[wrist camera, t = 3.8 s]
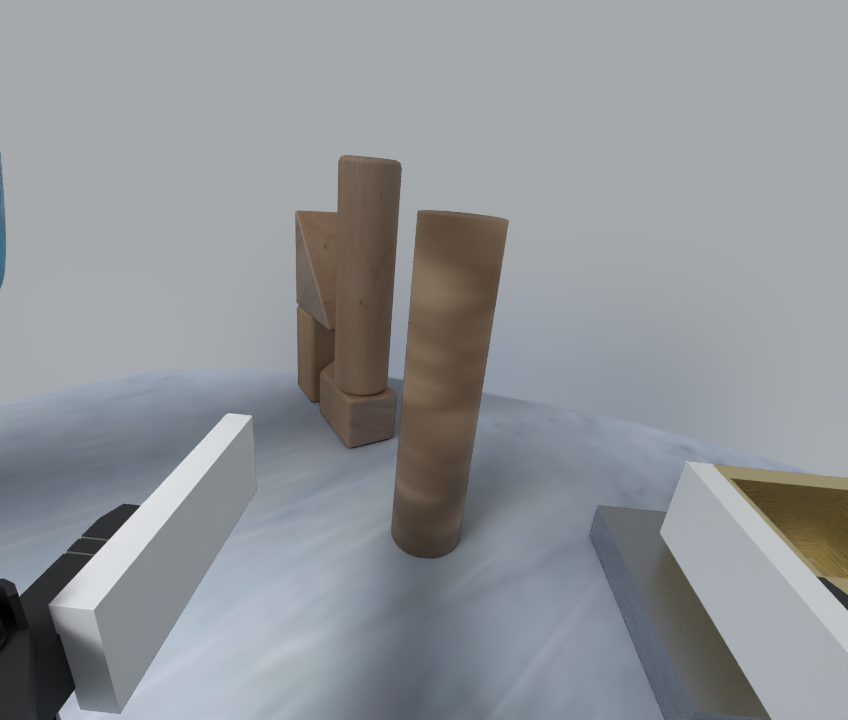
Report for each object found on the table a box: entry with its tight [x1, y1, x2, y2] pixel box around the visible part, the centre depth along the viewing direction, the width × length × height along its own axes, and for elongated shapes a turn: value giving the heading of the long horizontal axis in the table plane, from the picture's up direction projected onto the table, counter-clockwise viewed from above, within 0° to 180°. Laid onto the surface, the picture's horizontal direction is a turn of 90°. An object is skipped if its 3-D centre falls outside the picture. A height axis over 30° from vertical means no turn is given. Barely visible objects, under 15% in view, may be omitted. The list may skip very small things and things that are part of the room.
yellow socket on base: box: [589, 465, 848, 720], centre depth 19 cm, size 14×10×6 cm
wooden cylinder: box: [391, 210, 509, 558], centre depth 21 cm, size 4×4×16 cm
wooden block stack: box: [295, 155, 402, 448], centre depth 32 cm, size 4×11×18 cm, turn 32°
